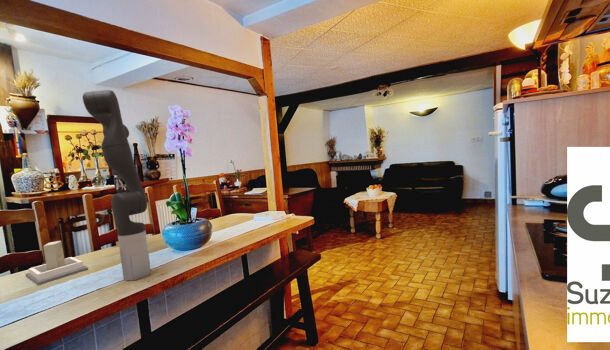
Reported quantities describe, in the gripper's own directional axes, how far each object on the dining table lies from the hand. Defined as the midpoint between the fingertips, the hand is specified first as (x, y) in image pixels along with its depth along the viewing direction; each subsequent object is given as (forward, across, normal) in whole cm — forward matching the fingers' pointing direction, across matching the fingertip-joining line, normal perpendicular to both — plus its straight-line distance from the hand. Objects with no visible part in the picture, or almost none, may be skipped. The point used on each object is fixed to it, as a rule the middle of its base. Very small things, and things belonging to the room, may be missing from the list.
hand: (124, 197), depth 140 cm
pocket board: (+28, -2, -29) cm, 40 cm away
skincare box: (+27, -2, -29) cm, 40 cm away
